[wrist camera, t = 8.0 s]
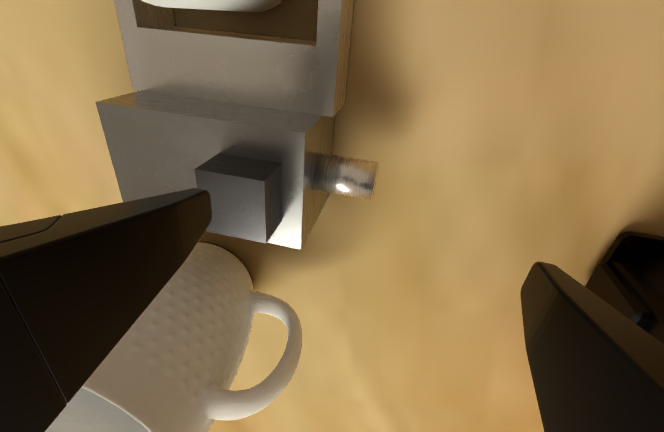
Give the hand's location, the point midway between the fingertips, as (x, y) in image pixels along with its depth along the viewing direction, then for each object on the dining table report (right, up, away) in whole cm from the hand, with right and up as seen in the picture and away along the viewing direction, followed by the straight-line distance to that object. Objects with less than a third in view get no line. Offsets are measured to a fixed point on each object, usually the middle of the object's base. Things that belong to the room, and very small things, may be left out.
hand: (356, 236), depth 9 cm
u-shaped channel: (-4, +10, +9) cm, 14 cm away
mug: (-9, -4, +19) cm, 21 cm away
